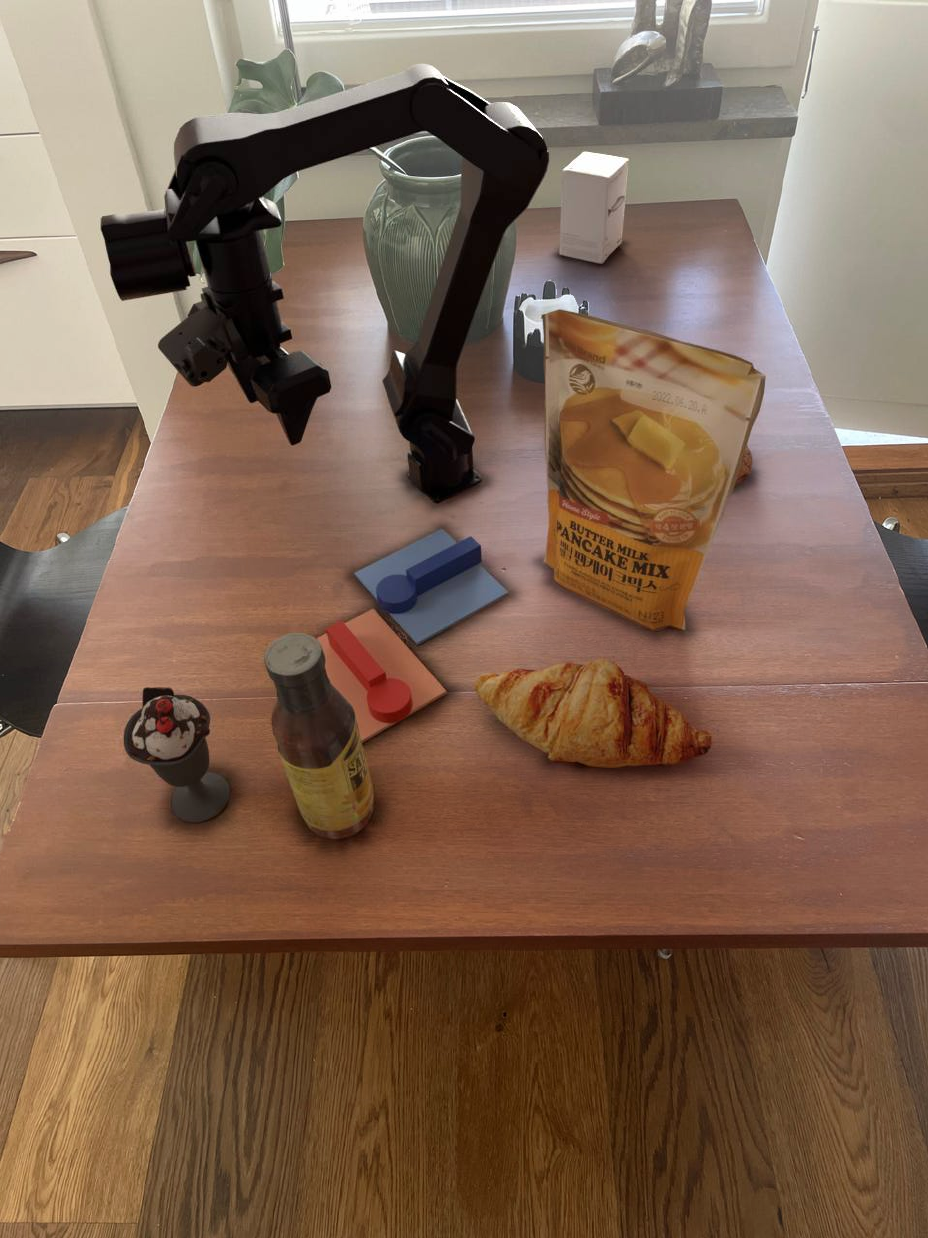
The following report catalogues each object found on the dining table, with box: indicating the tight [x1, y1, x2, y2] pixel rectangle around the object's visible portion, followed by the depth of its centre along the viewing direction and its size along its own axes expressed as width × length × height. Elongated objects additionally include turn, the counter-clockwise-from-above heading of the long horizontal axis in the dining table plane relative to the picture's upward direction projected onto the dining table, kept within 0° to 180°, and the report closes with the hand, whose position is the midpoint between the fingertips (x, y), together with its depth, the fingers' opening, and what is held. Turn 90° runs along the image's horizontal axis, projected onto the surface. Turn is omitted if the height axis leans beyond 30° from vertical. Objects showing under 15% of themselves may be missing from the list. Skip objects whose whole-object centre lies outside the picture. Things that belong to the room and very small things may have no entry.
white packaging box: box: [558, 151, 629, 265], centre depth 135 cm, size 7×7×13 cm
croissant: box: [474, 657, 713, 768], centre depth 79 cm, size 21×10×8 cm, turn 69°
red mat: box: [316, 608, 447, 744], centre depth 87 cm, size 10×13×1 cm
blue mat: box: [354, 528, 510, 646], centre depth 94 cm, size 11×12×1 cm
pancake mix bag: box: [540, 308, 767, 633], centre depth 82 cm, size 7×19×28 cm, turn 52°
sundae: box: [123, 686, 231, 824], centre depth 73 cm, size 7×7×15 cm
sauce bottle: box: [263, 632, 375, 840], centre depth 70 cm, size 6×6×20 cm
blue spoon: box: [376, 535, 483, 614], centre depth 93 cm, size 12×4×2 cm, turn 125°
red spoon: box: [325, 620, 413, 724], centre depth 85 cm, size 12×4×2 cm, turn 35°
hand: (274, 421), depth 94 cm, fingers open, 9 cm apart
